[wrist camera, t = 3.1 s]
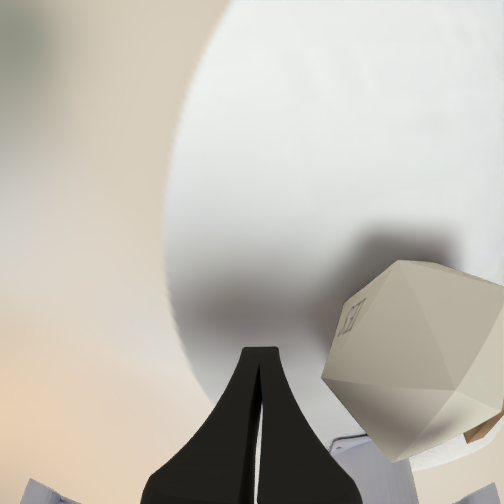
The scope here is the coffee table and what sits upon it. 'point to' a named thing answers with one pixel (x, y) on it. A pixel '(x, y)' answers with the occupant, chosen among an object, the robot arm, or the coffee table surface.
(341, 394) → the die
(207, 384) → the coffee table surface
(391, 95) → the coffee table surface
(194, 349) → the coffee table surface
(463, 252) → the coffee table surface
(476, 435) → the walnut board
